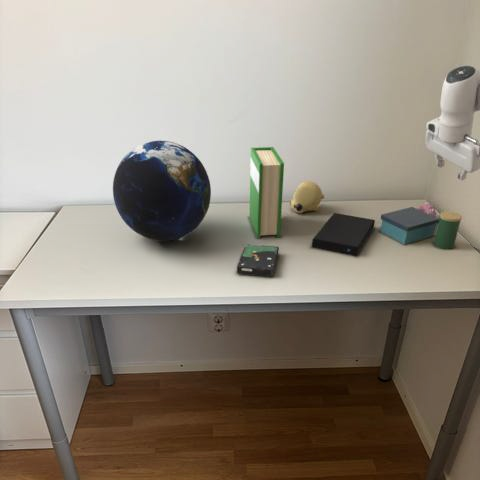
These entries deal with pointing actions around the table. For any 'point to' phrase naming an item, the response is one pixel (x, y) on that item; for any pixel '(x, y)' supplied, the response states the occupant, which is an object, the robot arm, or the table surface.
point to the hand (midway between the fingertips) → (450, 172)
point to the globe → (161, 190)
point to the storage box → (408, 225)
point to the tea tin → (447, 230)
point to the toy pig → (306, 197)
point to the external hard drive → (343, 234)
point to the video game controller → (427, 209)
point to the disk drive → (258, 260)
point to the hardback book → (266, 191)
